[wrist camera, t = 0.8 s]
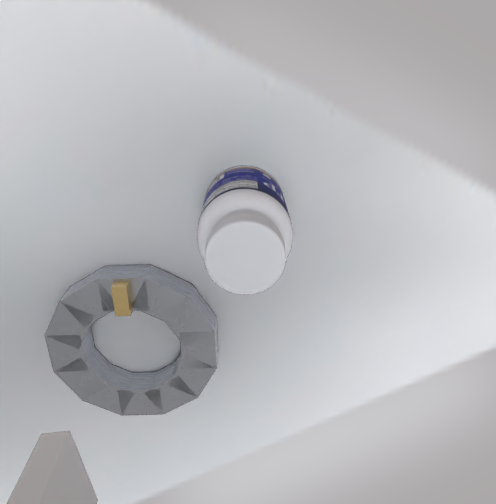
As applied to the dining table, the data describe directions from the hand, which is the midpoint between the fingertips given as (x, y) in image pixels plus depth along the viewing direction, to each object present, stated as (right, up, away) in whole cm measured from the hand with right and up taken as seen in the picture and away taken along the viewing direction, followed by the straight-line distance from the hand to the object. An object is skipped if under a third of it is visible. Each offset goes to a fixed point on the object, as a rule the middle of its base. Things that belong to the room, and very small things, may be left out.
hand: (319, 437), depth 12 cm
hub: (-10, -1, +22) cm, 24 cm away
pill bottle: (-2, +8, +18) cm, 20 cm away
